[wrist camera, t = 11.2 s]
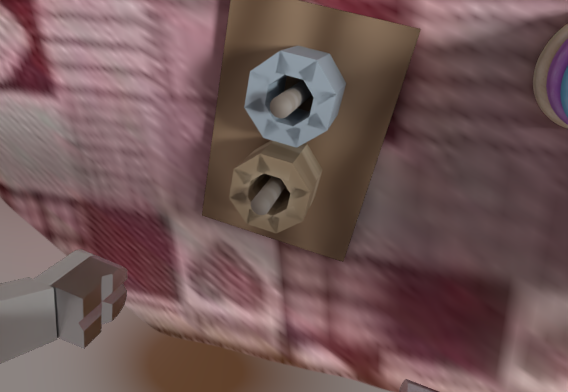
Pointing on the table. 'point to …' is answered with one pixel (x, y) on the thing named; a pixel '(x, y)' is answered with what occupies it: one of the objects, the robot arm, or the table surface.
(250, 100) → the loose gear
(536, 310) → the table surface
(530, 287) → the table surface
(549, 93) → the stacking toy
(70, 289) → the robot arm
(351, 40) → the gear board
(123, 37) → the table surface
